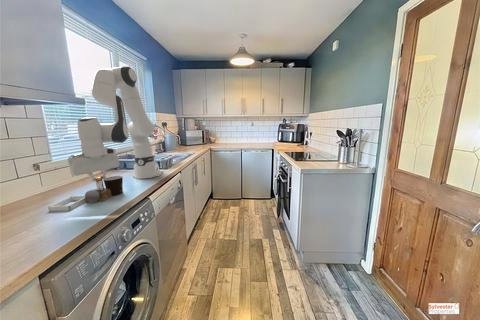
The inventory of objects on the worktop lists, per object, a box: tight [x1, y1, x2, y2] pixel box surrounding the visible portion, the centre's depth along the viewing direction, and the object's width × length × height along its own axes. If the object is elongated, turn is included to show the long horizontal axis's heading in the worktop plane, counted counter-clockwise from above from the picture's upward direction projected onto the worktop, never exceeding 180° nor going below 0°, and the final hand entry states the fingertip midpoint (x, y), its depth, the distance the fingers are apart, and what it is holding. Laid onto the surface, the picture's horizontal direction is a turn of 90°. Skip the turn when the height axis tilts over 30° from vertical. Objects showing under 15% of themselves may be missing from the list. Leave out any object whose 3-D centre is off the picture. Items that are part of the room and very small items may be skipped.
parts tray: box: [47, 195, 87, 212], centre depth 97 cm, size 13×9×3 cm
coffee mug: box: [102, 175, 124, 197], centre depth 111 cm, size 12×9×10 cm
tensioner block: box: [84, 187, 113, 204], centre depth 103 cm, size 10×8×7 cm
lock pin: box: [95, 176, 105, 192], centre depth 103 cm, size 3×3×10 cm
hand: (99, 179), depth 103 cm, fingers open, 3 cm apart
